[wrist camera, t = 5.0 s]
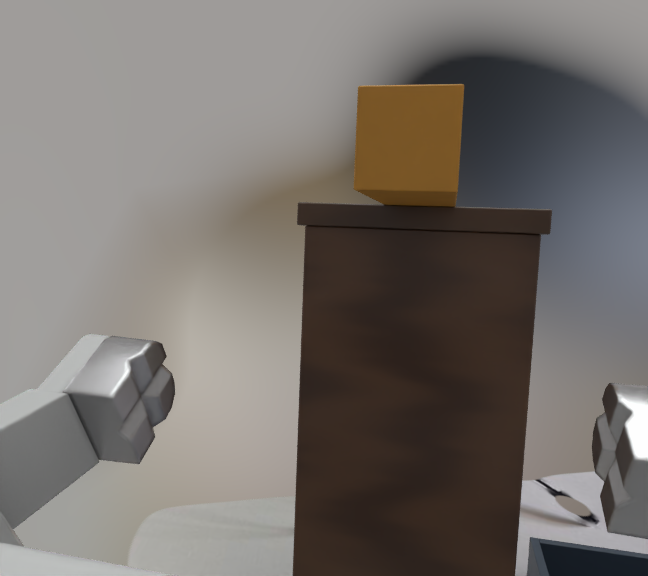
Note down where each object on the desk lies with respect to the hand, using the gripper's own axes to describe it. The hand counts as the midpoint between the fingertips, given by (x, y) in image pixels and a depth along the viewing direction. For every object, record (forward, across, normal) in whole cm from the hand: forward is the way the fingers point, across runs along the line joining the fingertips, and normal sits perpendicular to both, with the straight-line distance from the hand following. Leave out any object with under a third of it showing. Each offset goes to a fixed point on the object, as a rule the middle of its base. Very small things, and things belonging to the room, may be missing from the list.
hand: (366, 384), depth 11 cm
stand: (+5, 0, +28) cm, 29 cm away
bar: (+17, 0, +5) cm, 18 cm away
